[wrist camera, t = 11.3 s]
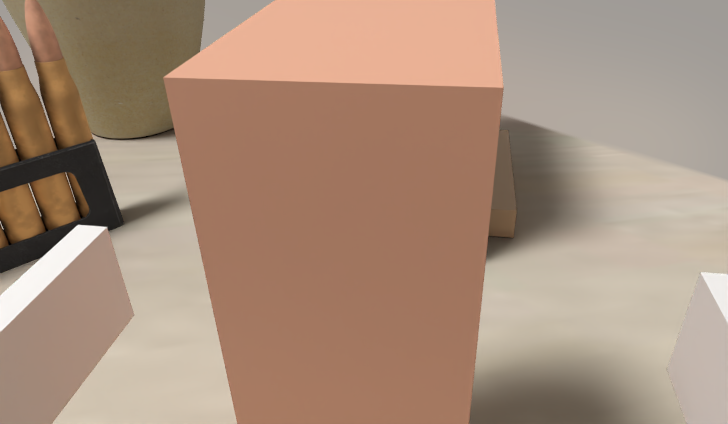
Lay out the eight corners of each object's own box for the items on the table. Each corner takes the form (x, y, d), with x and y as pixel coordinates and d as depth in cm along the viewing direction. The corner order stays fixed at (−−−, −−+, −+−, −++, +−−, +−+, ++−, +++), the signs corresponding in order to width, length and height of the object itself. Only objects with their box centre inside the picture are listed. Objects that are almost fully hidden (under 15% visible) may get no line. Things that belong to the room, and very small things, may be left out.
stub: (444, 660, 14) (503, 87, 6) (281, 629, 14) (163, 77, 7) (454, 443, 19) (492, -14, 11) (333, 427, 19) (296, -15, 12)
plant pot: (167, 174, 36) (100, -117, 28) (-14, 149, 40) (-119, -112, 32) (272, 95, 48) (247, -125, 40) (124, 81, 52) (74, -120, 44)
